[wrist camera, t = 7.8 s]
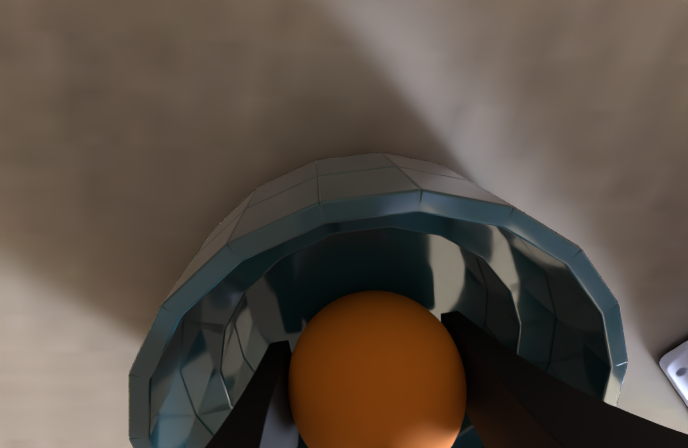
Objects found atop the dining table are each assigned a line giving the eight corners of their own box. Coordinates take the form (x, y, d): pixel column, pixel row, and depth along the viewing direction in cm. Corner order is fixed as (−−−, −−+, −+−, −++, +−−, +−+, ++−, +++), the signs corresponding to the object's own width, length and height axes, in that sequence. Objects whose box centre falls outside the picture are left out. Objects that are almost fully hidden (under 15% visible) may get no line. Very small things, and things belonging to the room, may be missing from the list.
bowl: (575, 313, 15) (696, 415, 10) (349, 470, 17) (363, 611, 13) (384, 62, 11) (441, 41, 6) (119, 316, 13) (12, 443, 8)
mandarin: (458, 322, 14) (553, 473, 8) (356, 398, 15) (382, 577, 9) (371, 232, 12) (420, 348, 7) (262, 325, 13) (227, 492, 8)
